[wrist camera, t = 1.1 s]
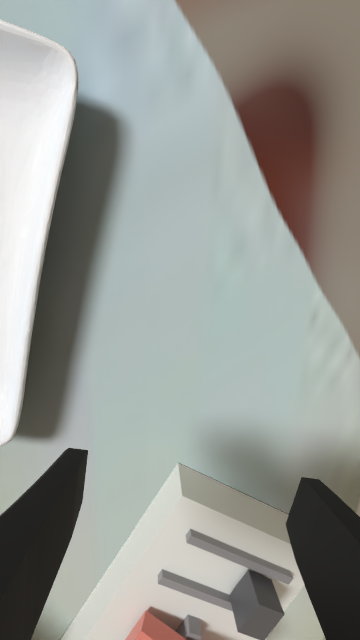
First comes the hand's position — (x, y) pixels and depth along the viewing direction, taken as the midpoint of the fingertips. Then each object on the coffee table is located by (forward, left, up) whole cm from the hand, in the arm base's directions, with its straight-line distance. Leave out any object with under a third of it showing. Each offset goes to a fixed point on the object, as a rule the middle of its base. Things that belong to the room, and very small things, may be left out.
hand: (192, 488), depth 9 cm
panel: (-16, -10, -10) cm, 21 cm away
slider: (-10, -12, -7) cm, 17 cm away
